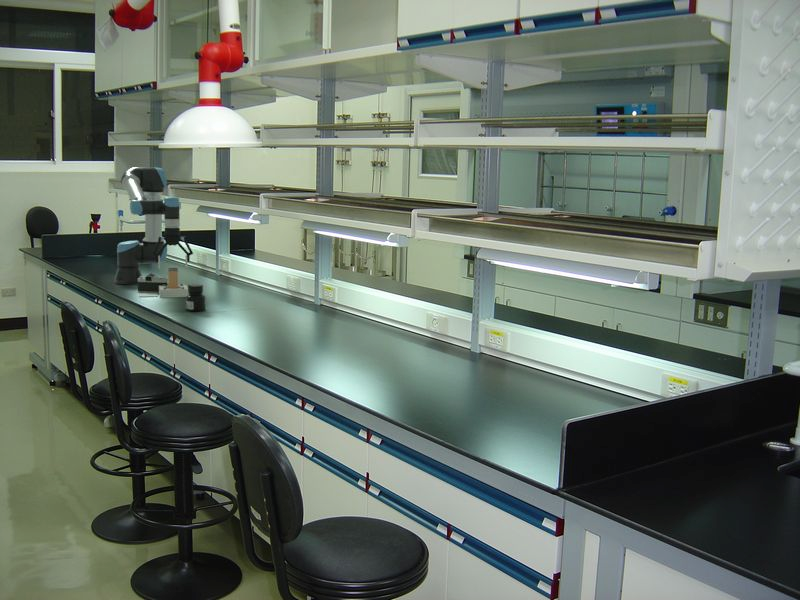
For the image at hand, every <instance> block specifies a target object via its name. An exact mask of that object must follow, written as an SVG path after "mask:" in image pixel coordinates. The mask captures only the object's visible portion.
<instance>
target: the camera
mask: <svg viewBox="0 0 800 600" xmlns="http://www.w3.org/2000/svg"><path fill="white" fill-rule="evenodd" d="M137 282H138V284H137V292H138V293H157V294H159V286H163V284H165V285H168V279H167V277H166V276H161V277H160V276H157V275H155V274H154V273H152V272H150V273H148V274H147V275H145V276H144V277H143V275H142V276H140V278H138V281H137Z"/></svg>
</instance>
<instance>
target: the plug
mask: <svg viewBox="0 0 800 600" xmlns="http://www.w3.org/2000/svg"><path fill="white" fill-rule="evenodd" d="M167 270H168V271H167V273H168V280H167V284H168V285H169V289H175V288H178V285H179V277H178V276H179V275H178V274H179V273H178V271H179V270H178V267H167Z"/></svg>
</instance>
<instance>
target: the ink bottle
mask: <svg viewBox="0 0 800 600" xmlns="http://www.w3.org/2000/svg"><path fill="white" fill-rule="evenodd" d="M187 288H188V295H187V296H186V297H185V310H186V311H187V312H191V313H193V312H195V313H196V312H204V311H206V296H205V295H204V294H203V293H204V285H203V284H201V283H200V284H198V283H196V284H195V283H192V284H188V285H187Z"/></svg>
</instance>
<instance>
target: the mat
mask: <svg viewBox="0 0 800 600" xmlns="http://www.w3.org/2000/svg"><path fill="white" fill-rule="evenodd" d="M158 295H159V294H158V293H148V292H141V293H138V298H154V297H155V298H158Z"/></svg>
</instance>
